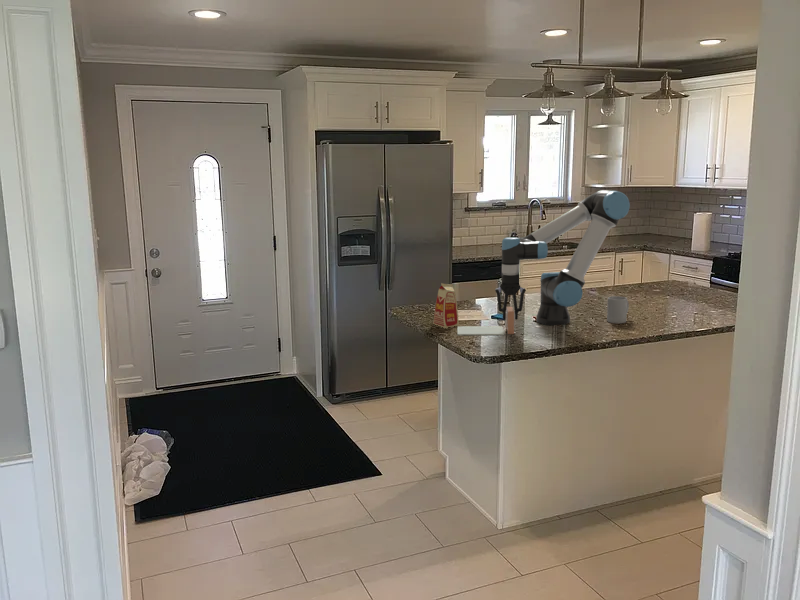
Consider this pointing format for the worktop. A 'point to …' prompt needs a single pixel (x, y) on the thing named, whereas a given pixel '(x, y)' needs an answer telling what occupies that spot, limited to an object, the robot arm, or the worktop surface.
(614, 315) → the mug
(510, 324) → the tile
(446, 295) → the milk carton
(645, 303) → the worktop surface
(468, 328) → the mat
